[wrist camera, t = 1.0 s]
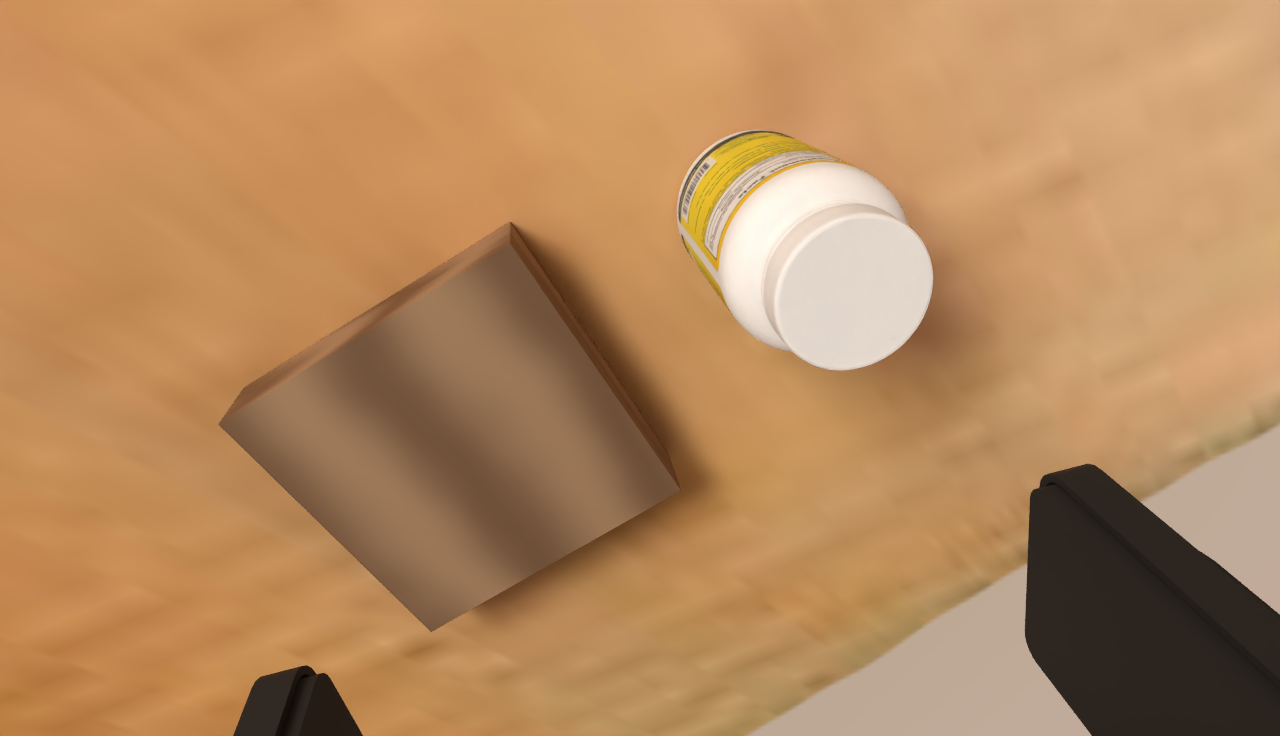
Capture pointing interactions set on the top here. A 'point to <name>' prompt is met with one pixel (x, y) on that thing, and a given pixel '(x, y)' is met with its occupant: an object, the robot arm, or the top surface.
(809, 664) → the top surface
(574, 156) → the top surface
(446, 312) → the walnut base
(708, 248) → the pill bottle
